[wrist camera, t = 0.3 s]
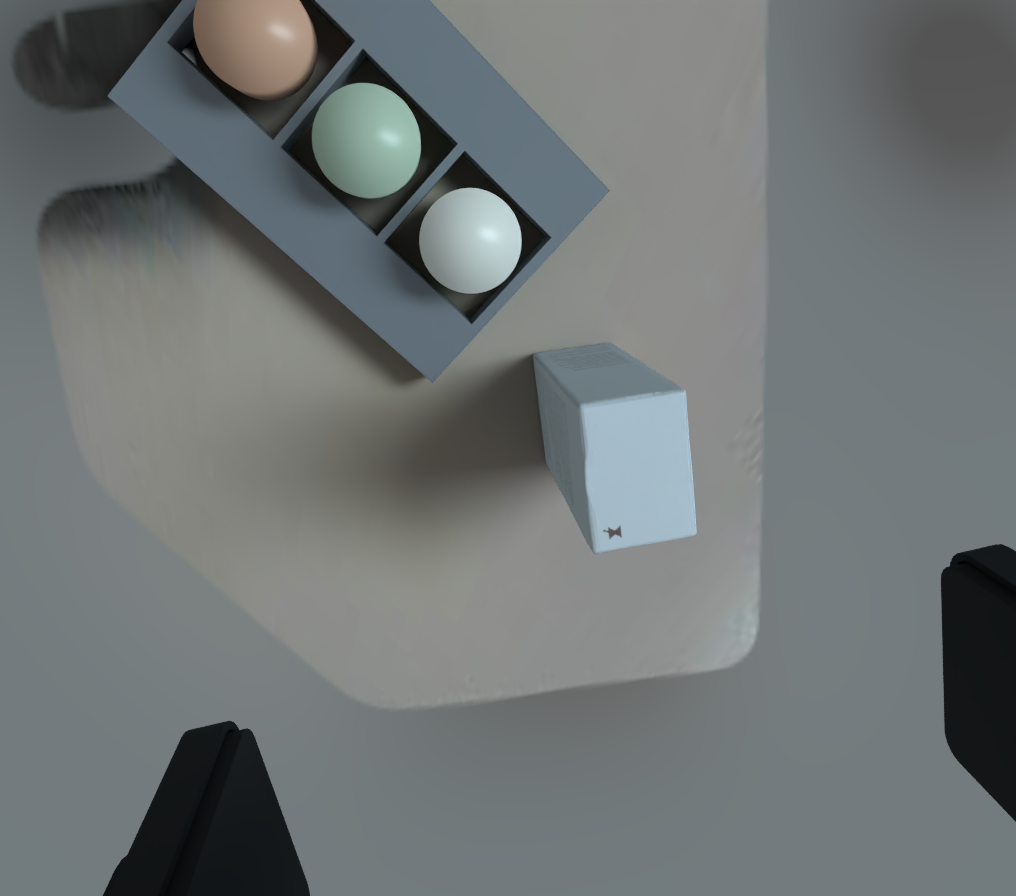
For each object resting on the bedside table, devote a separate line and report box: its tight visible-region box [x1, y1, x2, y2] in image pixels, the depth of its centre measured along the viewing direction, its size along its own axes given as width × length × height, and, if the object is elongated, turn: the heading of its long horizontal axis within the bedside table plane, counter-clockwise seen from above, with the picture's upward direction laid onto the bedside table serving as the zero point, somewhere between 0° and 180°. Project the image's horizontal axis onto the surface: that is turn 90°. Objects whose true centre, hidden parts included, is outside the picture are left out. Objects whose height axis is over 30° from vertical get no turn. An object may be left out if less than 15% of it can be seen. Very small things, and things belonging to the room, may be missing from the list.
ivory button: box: [419, 188, 522, 294], centre depth 35 cm, size 4×4×2 cm
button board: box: [108, 0, 610, 383], centre depth 35 cm, size 12×18×2 cm, turn 47°
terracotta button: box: [193, 0, 318, 101], centre depth 32 cm, size 4×4×2 cm
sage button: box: [312, 83, 421, 199], centre depth 33 cm, size 4×4×2 cm
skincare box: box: [533, 343, 696, 554], centre depth 35 cm, size 6×4×12 cm
